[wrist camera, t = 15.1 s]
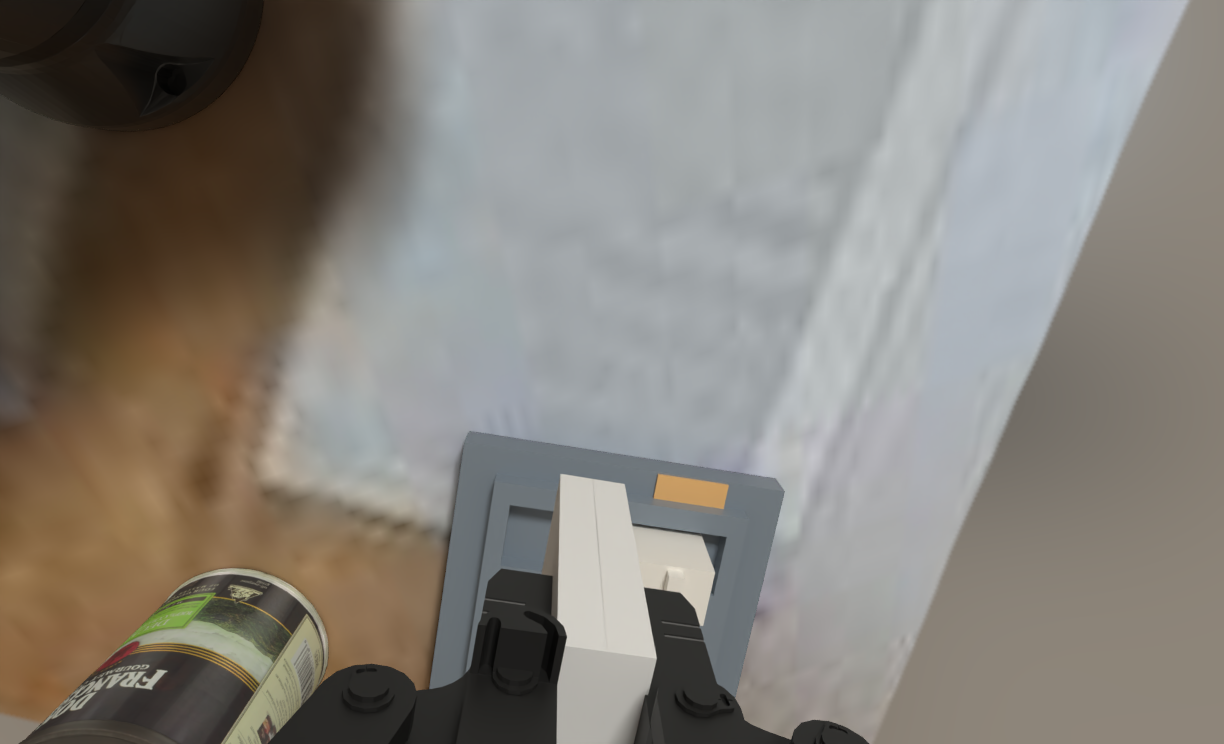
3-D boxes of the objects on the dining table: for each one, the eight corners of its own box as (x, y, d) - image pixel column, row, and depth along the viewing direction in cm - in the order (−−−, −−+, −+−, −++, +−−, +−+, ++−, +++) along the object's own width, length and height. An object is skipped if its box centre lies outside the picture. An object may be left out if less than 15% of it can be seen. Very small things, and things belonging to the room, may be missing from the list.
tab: (620, 568, 44) (626, 623, 38) (630, 519, 43) (637, 569, 37) (689, 578, 44) (705, 634, 38) (699, 530, 43) (717, 580, 38)
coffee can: (118, 613, 45) (-83, 796, 31) (270, 537, 44) (132, 690, 31) (217, 746, 47) (69, 971, 34) (362, 676, 47) (272, 876, 33)
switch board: (433, 678, 47) (423, 712, 44) (469, 431, 44) (460, 449, 40) (719, 714, 48) (729, 750, 45) (775, 478, 45) (790, 499, 42)
